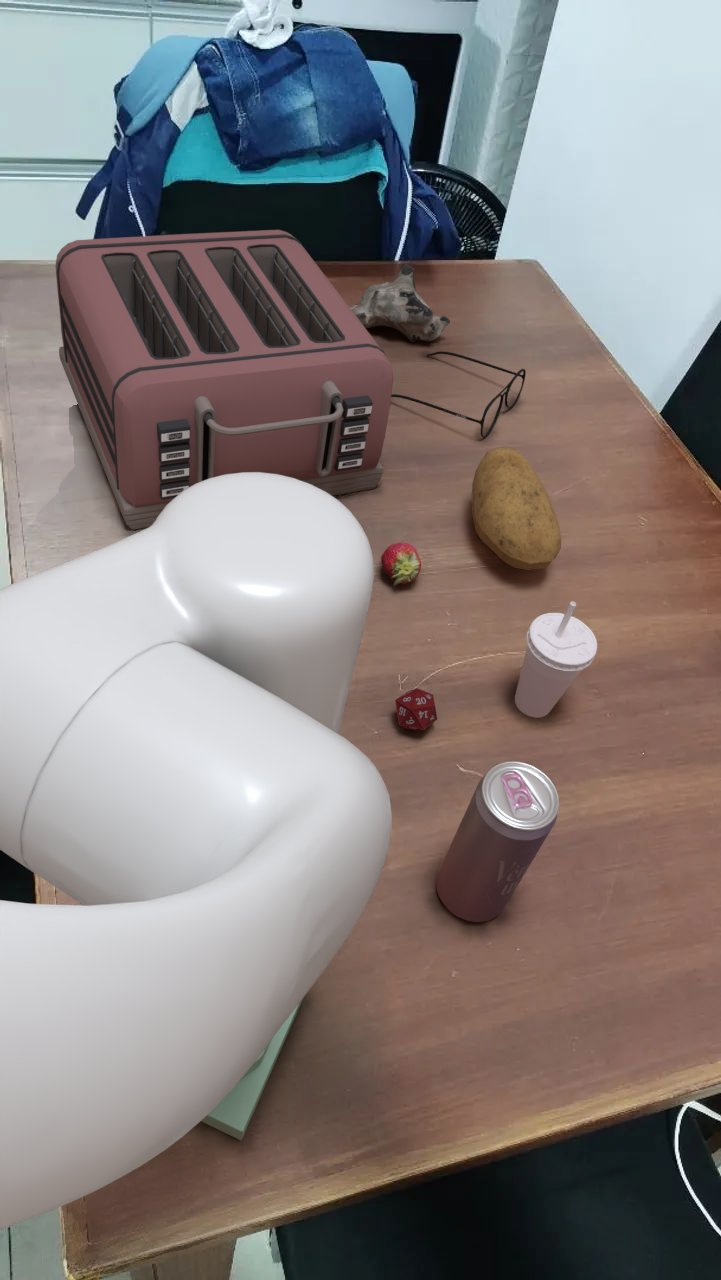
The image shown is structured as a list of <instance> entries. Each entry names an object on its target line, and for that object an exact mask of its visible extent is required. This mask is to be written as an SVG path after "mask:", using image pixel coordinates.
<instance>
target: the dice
mask: <svg viewBox="0 0 721 1280" xmlns="http://www.w3.org/2000/svg"><path fill="white" fill-rule="evenodd" d="M394 701H395V709H396V714H397V720H398V726H400V727H402V728H405V729H408V730H411V731H414V732H419V731H423V730H426V728H428V727H429V726H431V725H432V724H433V723H435V722H436V721H438V715H437V714H438V713H437V708H436V704H435V697H434V694H432V693H430V692H428V691H425V690H422V689H420V688H418V687H417V688H413V689H411V690H408V691H407V692H405V693H404V694H402V695H400V696H399V697H398V698H396V699H394Z"/></svg>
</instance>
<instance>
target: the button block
mask: <svg viewBox="0 0 721 1280" xmlns="http://www.w3.org/2000/svg"><path fill="white" fill-rule="evenodd" d="M302 1002H303V999H302V1000H301V1001H300V1003H299V1004H298V1005H297V1007H296V1008H295V1009H294V1011H293V1012H292V1013H291V1015H290V1016H289V1017H288V1018H287V1020H286V1021H285V1022H284V1024H283V1025H282V1026H281V1028H280V1029H279V1030H278V1032H277V1033H276V1034H275V1036H274V1037H273V1038H272V1039H271V1041H270V1042H269V1043H268V1045H267V1046H266V1047H265V1049H264V1050H263V1051H262V1053H261V1054H260V1056H259V1057H258V1058H257V1059H256V1061H255V1062H254V1063H253V1065H252V1066H251V1067H250V1068H249V1070H248V1071H247V1072H246V1073H245V1075H244V1076H243V1077H242V1078H241V1079H240V1081H239V1082H238V1083H237V1084H236V1085H235V1087H234V1088H233V1089H232V1090H231V1091H230V1092H229V1093H228V1094H227V1095H226V1096H225V1097H224V1099H223V1100H222V1101H221V1102H220V1103H219V1104H218V1105H217V1106H216V1107H215V1108H214V1109H213V1110H212V1111H211V1112H210V1113H209V1114H208V1115H207V1116H206V1117H205V1118H203V1119H202V1120H201V1121H200V1122H202V1123H204V1124H206V1125H208V1126H210V1127H212V1128H214V1129H216V1130H218V1131H220V1132H223V1133H224V1134H226V1135H229V1136H231V1137H232V1138H234V1139H237V1140H239V1141H242V1140H243V1138H244V1137H245V1133H246V1132H247V1129H248V1128H249V1127H248V1126H249V1124H250V1122H251V1120H252V1117H253V1115H254V1113H255V1110H256V1108H257V1106H258V1104H259V1101H260V1100H261V1096H262V1094H263V1092H264V1090H265V1088H266V1085H267V1084H268V1081H269V1079H270V1076H271V1074H272V1071H273V1070H274V1067H275V1065H276V1062H277V1060H278V1057H279V1056H280V1053H281V1051H282V1048H283V1047H284V1045H285V1042H286V1039H287V1037H288V1035H289V1032H290V1030H291V1028H292V1025H293V1023H294V1022H295V1019H296V1017H297V1014H298V1012H299V1009H300V1007H301V1005H302Z"/></svg>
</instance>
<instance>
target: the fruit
mask: <svg viewBox="0 0 721 1280" xmlns="http://www.w3.org/2000/svg"><path fill="white" fill-rule="evenodd" d="M380 561H381V565H382V567H383V569H384V572H385V573H386V575H387V576H388V577H389V578H390V579H391V580H392V582H394V583H393V586H397V585H399V584H407V583H411V582H412V581H415V580H416V578H417V577H418V576H419V574H420V573H421V569H422V560H421V558H420V555H419V553H418V551H417V549H416V548H415V547H414V546H413V545H412V544H409V543H407V542H396V543H392V544H391V545H389V546H388V547H387V548H386V549H385V550H384V552H383V553H382V554H381V558H380Z"/></svg>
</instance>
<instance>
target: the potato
mask: <svg viewBox="0 0 721 1280" xmlns="http://www.w3.org/2000/svg"><path fill="white" fill-rule="evenodd" d="M471 485H472V487H471V490H472V491H471V509H472V510H471V511H472V512H471V513H472V518H473V524H474V527H475V528H474V529H475V532H476V534H477V536H478V537H479V539H480V540H481V542H482V543H484V544H485V546H487V547H488V548H490V549H491V551H492V552H494V553H495V555H497V557H498V558H499V559H501V560H502V561H503V562H504V563H506V564H507V565H509V566H510V567H512V568H516V569H522V570H527V571H529V570H541V569H547V567H549V566H550V564H552V562H553V561H555V560H556V558H557V556H558V554H559V552H560V551H561V550H562V536H561V529H560V524H559V521H558V518H557V515H556V512H555V510H554V507H553V504H552V501H551V498H550V496H549V493H548V492H547V489H546V488H545V485H544V484H543V483H542V481H541V479H540V478H539V476H538V474H537V473H536V471H535V470H534V468H533V467H532V465H531V464H530V462H529V460H527V458H526V456H525V455H524V454H523V453H521V452H520V451H518V450H517V449H515V448H511V447H507V446H500V447H495V448H493V449H490V450H488V451H487V452H486V453H485V454H484V456H483V457H482V458H481V460H480V462H479V463H478V466H477V467H476V470H475V472H474V477H473V480H472V484H471Z"/></svg>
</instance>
